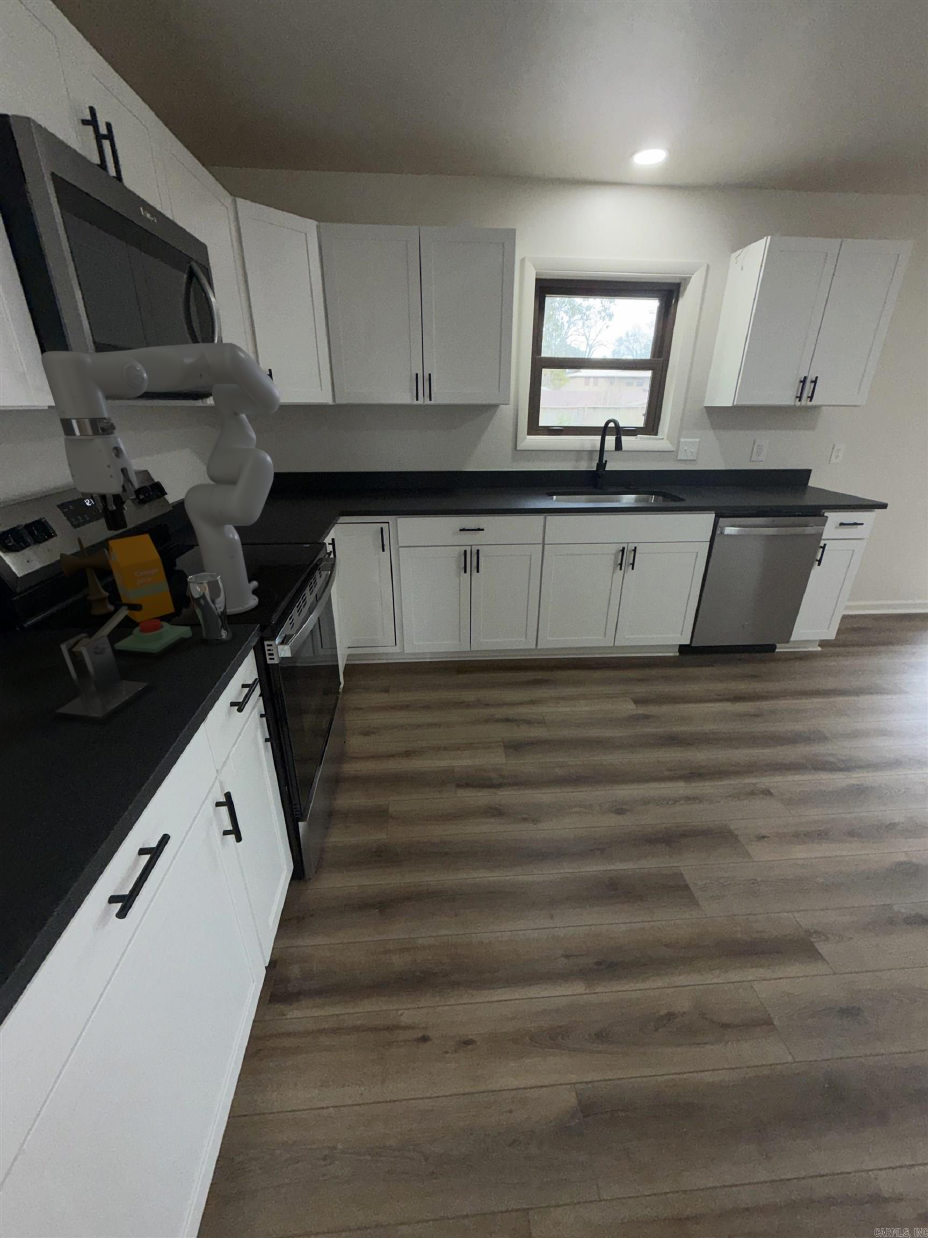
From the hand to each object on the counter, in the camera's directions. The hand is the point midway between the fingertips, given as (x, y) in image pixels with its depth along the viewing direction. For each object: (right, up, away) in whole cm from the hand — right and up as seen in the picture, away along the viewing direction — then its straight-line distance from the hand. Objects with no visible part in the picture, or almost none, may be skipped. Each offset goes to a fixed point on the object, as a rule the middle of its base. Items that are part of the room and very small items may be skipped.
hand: (118, 529), depth 97 cm
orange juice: (-13, -16, +30) cm, 36 cm away
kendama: (-25, -16, +30) cm, 42 cm away
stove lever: (+3, -20, -7) cm, 22 cm away
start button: (-1, -20, +13) cm, 24 cm away
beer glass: (+11, -22, +17) cm, 30 cm away
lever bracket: (+3, -33, -7) cm, 34 cm away
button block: (-1, -23, +14) cm, 27 cm away
